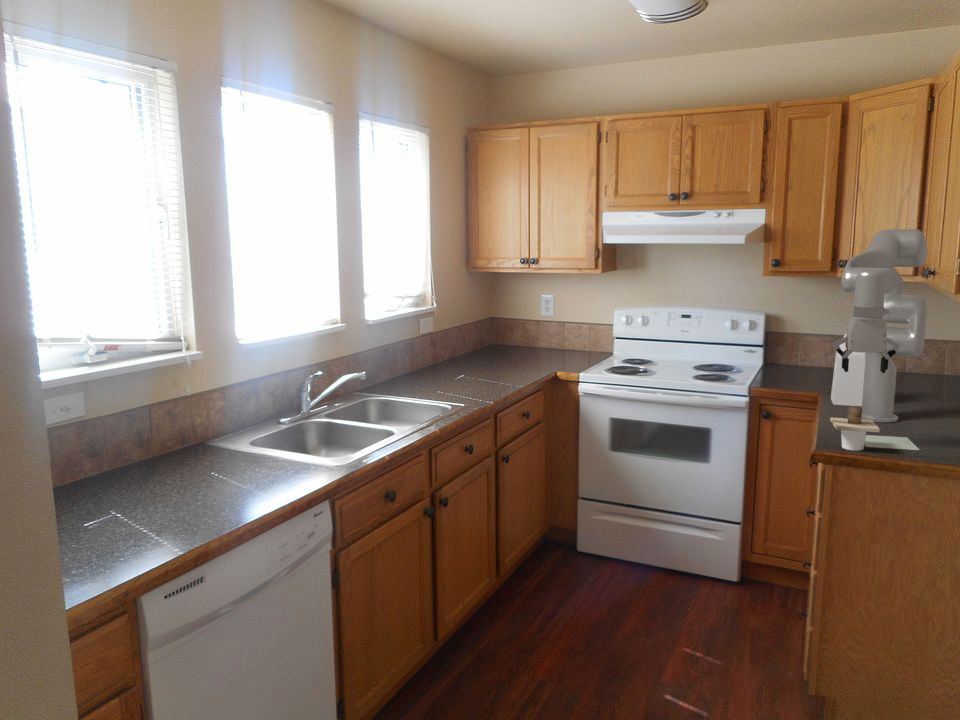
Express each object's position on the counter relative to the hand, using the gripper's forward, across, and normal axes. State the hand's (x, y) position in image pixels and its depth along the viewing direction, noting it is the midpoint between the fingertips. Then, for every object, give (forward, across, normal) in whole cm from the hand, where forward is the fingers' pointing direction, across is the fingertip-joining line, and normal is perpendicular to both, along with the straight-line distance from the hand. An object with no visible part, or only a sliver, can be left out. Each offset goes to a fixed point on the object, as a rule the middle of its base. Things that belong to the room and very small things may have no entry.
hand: (864, 371), depth 208 cm
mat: (+23, -9, -6) cm, 25 cm away
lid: (+16, +2, +3) cm, 16 cm away
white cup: (+23, +2, +3) cm, 23 cm away
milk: (+24, -8, -64) cm, 69 cm away
